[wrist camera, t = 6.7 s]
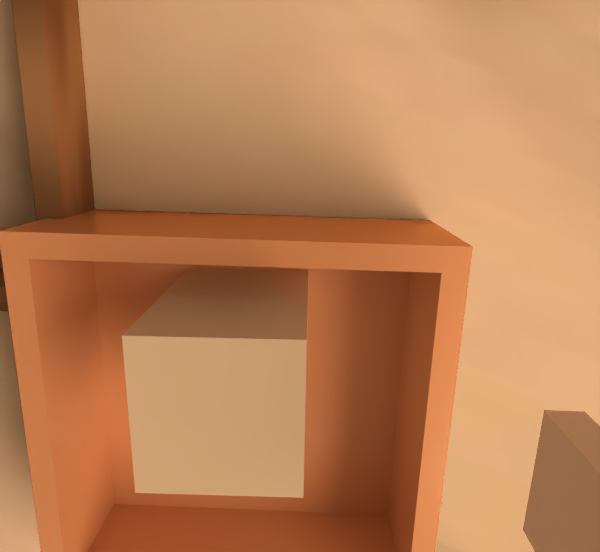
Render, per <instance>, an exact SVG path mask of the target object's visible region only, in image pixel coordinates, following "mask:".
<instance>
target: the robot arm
mask: <svg viewBox="0 0 600 552" xmlns="http://www.w3.org/2000/svg"><path fill="white" fill-rule="evenodd" d="M523 530H524V532H525V534H526V536H527V538H528V539H529V541H530V543H531V545H532V547H533V548H534V550H535V552H600V426H599V425H598V424H597V423H596V422H595V421H594V420H593V419H592V418H590V417H589V416H588V415H587V414H586V413H585V412H577V411H551V410H544V415H543V421H542V426H541V432H540V437H539V443H538V449H537V454H536V460H535V466H534V471H533V477H532V482H531V488H530V494H529V499H528V505H527V510H526V516H525V522H524V527H523Z"/></svg>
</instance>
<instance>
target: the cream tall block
mask: <svg viewBox="0 0 600 552" xmlns="http://www.w3.org/2000/svg"><path fill="white" fill-rule="evenodd" d="M307 317H308V271H296V270H247V269H199V268H189V269H188V270H187V271H186V272H185V273H184V274H183V275H182V276H181V277H180V278H179V279H178V280H177V281H176V282H175V283H174V284H173V285H172V286H171V287H170V288H169V289H168V290H167V291H166V292H165V293H164V294H163V295H162V296H161V297H160V298H159V299H158V300H157V301H156V302H155V303H154V304H153V305H152V306H151V307H150V308H149V309H148V310H147V311H146V312H145V313H144V314H143V315H142V316H141V317H140V318H139V319H138V320H137V321H136V322H135V323H134V324H133V325H132V326H131V327H130V328H129V329H128V330H127V331H126V332H125V333H124V334H123V335H122V344H123V355H124V367H125V379H126V391H127V402H128V414H129V426H130V437H131V449H132V461H133V472H134V484H135V493H159V494H193V495H227V496H262V497H296V498H303V495H304V453H305V410H306V366H307Z"/></svg>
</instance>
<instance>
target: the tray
mask: <svg viewBox="0 0 600 552" xmlns="http://www.w3.org/2000/svg"><path fill="white" fill-rule="evenodd" d="M12 9H13V17H14V26H15V35H16V44H17V53H18V62H19V71H20V80H21V88H22V97H23V106H24V115H25V124H26V133H27V142H28V151H29V159H30V168H31V177H32V186H33V195H34V204H35V213H36V221H38V220H42V219H45V218H52V219H64V218H67V217H71V216H74V215H77V214H81V213H84V212H88V211H91V210H94V199H93V187H92V174H91V162H90V150H89V137H88V125H87V113H86V100H85V88H84V76H83V63H82V51H81V39H80V26H79V14H78V2H77V0H12ZM0 311H9V309H8V302H7V294H6V287H5V279H4V272H3V268H0Z"/></svg>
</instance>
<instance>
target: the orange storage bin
mask: <svg viewBox="0 0 600 552" xmlns="http://www.w3.org/2000/svg"><path fill="white" fill-rule="evenodd" d="M472 248H473V247H472V246H470V245H469V244H467V243H466V242H464V241H462V240H461V239H459V238H458V237H456V236H454V235H453V234H451V233H450V232H448V231H446V230H445V229H443V228H442V227H440V226H438V225H437V224H435V223H434V222H432V221H430V220H404V219H372V218H341V217H310V216H279V215H248V214H216V213H185V212H154V211H123V210H91V211H88V212H84V213H81V214H77V215H74V216H71V217H67V218H64V219H52V218H45V219H42V220H38V221H34V222H30V223H27V224H23V225H19V226H16V227H12V228H8V229H5V230H1V231H0V250H1V257H2V264H3V272H4V279H5V287H6V294H7V302H8V309H9V317H10V324H11V332H12V339H13V347H14V354H15V362H16V369H17V376H18V384H19V391H20V399H21V406H22V414H23V421H24V429H25V436H26V444H27V451H28V459H29V466H30V473H31V481H32V488H33V496H34V503H35V511H36V518H37V526H38V533H39V541H40V548H41V552H435V547H436V539H437V531H438V523H439V515H440V507H441V499H442V491H443V483H444V475H445V466H446V458H447V450H448V442H449V434H450V426H451V418H452V410H453V402H454V393H455V385H456V377H457V369H458V361H459V353H460V345H461V337H462V329H463V321H464V312H465V304H466V296H467V288H468V280H469V272H470V264H471V256H472ZM189 268H199V269H247V270H296V271H308V317H307V366H306V410H305V453H304V495H303V498H296V497H262V496H227V495H193V494H159V493H135V484H134V472H133V461H132V449H131V437H130V426H129V414H128V402H127V391H126V379H125V367H124V355H123V344H122V335H123V334H124V333H125V332H126V331H127V330H128V329H129V328H130V327H131V326H132V325H133V324H134V323H135V322H136V321H137V320H138V319H139V318H140V317H141V316H142V315H143V314H144V313H145V312H146V311H147V310H148V309H149V308H150V307H151V306H152V305H153V304H154V303H155V302H156V301H157V300H158V299H159V298H160V297H161V296H162V295H163V294H164V293H165V292H166V291H167V290H168V289H169V288H170V287H171V286H172V285H173V284H174V283H175V282H176V281H177V280H178V279H179V278H180V277H181V276H182V275H183V274H184V273H185V272H186V271H187V270H188V269H189Z"/></svg>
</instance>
